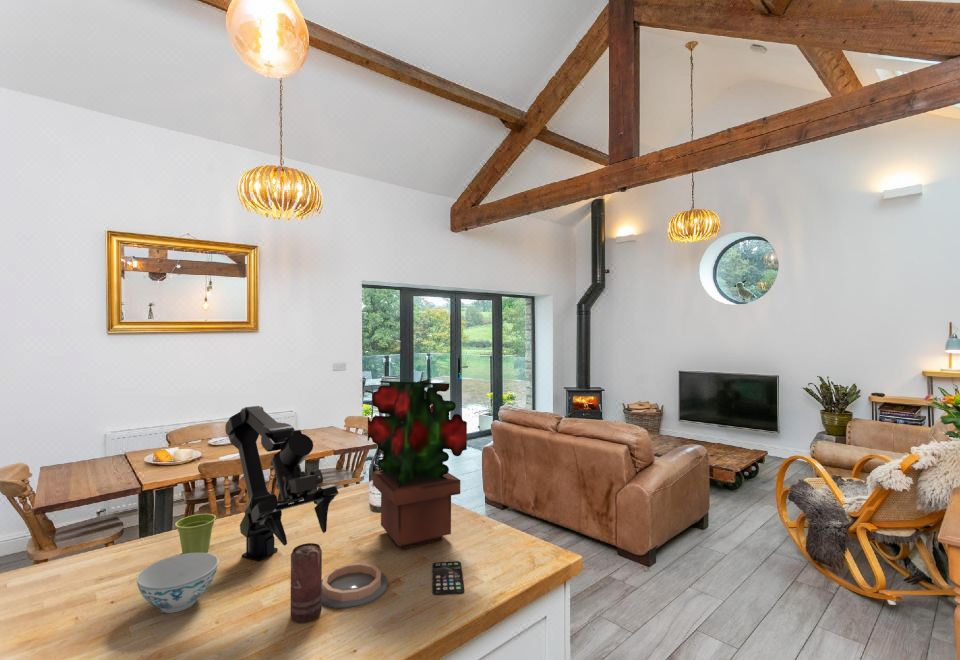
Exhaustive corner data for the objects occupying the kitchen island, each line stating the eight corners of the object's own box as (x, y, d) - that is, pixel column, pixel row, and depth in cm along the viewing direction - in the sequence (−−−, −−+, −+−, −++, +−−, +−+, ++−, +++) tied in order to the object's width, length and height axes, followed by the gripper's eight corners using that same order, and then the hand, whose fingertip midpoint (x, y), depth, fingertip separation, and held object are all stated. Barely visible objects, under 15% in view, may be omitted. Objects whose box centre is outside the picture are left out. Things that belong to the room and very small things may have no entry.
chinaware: (157, 634, 92) (157, 595, 92) (123, 610, 100) (123, 573, 100) (231, 597, 105) (232, 563, 105) (196, 578, 113) (196, 546, 113)
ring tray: (300, 600, 104) (300, 588, 104) (343, 566, 119) (343, 556, 119) (362, 614, 99) (362, 602, 99) (399, 577, 114) (399, 566, 114)
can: (312, 625, 95) (312, 556, 95) (284, 621, 96) (284, 553, 96) (327, 608, 101) (328, 543, 101) (301, 604, 102) (301, 540, 102)
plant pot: (166, 556, 124) (166, 524, 124) (199, 542, 133) (200, 511, 133) (191, 563, 120) (191, 529, 120) (223, 548, 129) (223, 516, 129)
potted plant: (390, 561, 122) (391, 388, 122) (367, 529, 141) (368, 380, 142) (466, 542, 133) (467, 384, 133) (434, 515, 152) (435, 377, 152)
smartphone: (461, 561, 122) (464, 592, 107) (461, 563, 122) (464, 595, 107) (432, 562, 121) (432, 593, 106) (432, 564, 121) (432, 596, 106)
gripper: (259, 467, 102) (276, 539, 95) (337, 452, 115) (357, 514, 109) (244, 488, 108) (259, 556, 102) (320, 471, 122) (337, 531, 115)
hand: (305, 538), depth 107 cm, fingers open, 9 cm apart
